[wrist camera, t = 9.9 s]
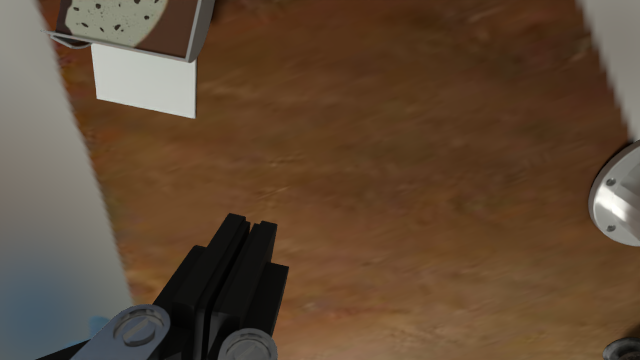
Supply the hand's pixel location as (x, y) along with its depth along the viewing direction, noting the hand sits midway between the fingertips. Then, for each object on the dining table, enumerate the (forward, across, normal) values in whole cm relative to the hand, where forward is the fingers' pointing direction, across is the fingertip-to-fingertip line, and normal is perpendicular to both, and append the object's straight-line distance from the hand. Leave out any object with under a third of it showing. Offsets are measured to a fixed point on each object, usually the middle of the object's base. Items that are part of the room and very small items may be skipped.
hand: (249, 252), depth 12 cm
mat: (+23, +17, -1) cm, 29 cm away
